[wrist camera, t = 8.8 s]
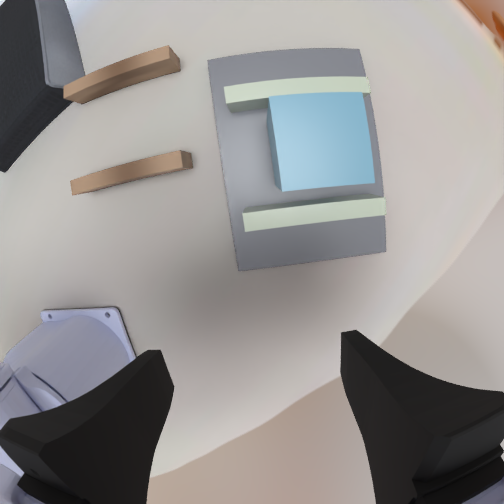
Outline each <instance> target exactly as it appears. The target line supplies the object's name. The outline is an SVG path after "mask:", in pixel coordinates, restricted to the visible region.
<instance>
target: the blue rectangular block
mask: <svg viewBox="0 0 504 504" xmlns="http://www.w3.org/2000/svg"><path fill="white" fill-rule="evenodd" d="M266 122H267V129H268V136H269V143H270V150H271V157H272V164H273V172H274V179H275V186H276V187H278V188H279V189H280V190H281V191H282V192H285V191H293V190H302V189H312V188H322V187H333V186H344V185H356V184H369V183H375V177H374V167H373V158H372V150H371V142H370V135H369V128H368V122H367V116H366V110H365V104H364V99H363V94H362V92H322V93H303V94H289V95H278V96H269V98H268V110H267V121H266Z"/></svg>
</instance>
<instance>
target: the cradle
mask: <svg viewBox="0 0 504 504" xmlns="http://www.w3.org/2000/svg"><path fill="white" fill-rule="evenodd" d="M178 71H180V61H179V58H178V57H177V55H176V54H175V53H174V52H173V50H172V49H171V48H170V47H169V45H168V46H164V47H161V48H157V49H154V50H151V51H148V52H145V53H142V54H139V55H136V56H133V57H130V58H127V59H124V60H122V61H119V62H116V63H114V64H111V65H109V66H106V67H104V68H102V69H99V70H97V71H95V72H92V73H90V74H88V75H86V76H84V77H81V78H79V79H77V80H75V81H73V82H71V83H69V84H67V85H65V86H64V99H67V100H70V101H74V102H77V103H81V104H84V103H86V102H88V101H91V100H93V99H96V98H98V97H101V96H103V95H106V94H108V93H111V92H114V91H116V90H119V89H122V88H125V87H128V86H130V85H133V84H136V83H140V82H143V81H146V80H149V79H153V78H156V77H159V76H163V75H167V74H170V73H174V72H178ZM190 168H193V164H192V158H191V153H188V152H185V151H181V150H180V151H175V152H171V153H166V154H162V155H158V156H154V157H149V158H145V159H141V160H138V161H134V162H130V163H126V164H123V165H119V166H116V167H112V168H109V169H105V170H102V171H99V172H96V173H92V174H89V175H86V176H83V177H80V178H77V179H74V180H71V181H70V183H71V190H72V195H77V194H83V193H88V192H93V191H97V190H100V189H104V188H108V187H111V186H115V185H119V184H123V183H127V182H131V181H135V180H139V179H143V178H148V177H152V176H157V175H161V174H166V173H170V172H175V171H180V170H185V169H190Z"/></svg>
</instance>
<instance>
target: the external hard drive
mask: <svg viewBox="0 0 504 504" xmlns="http://www.w3.org/2000/svg"><path fill="white" fill-rule="evenodd" d="M84 76H85V73H84V69H83V64H82V60H81V56H80V52H79V47H78V43H77V40H76V36H75V32H74V28H73V25H72V22H71V18H70V15H69V12H68V9H67V6H66V3H65V1H64V0H5V2H4V3H3V4H2V5H1V6H0V171H2V172H6V171H7V170H8V169H9V168H10V166H11V165H12V164H13V163H14V162H15V160H16V159H17V158H18V157H19V156H20V154H21V153H22V152H23V151H24V150H25V149H26V148H27V146H28V145H29V144H30V143H31V142H32V141H33V140H34V139H35V138H36V137H37V136H38V135H39V134H40V133H41V132H42V131H43V130H44V129H45V127H46V126H47V125H48V124H49V123H50V122H51V121H52V120H54V119H55V118H56V117H57V116H58V115H59V114H60V113H61V112H62V111H63V110H64V109H65V108H66V107H67V106H69V105H70V104H71V103H72V102H73V101H70V100H67V99H64V86H65V85H67V84H69V83H71V82H73V81H75V80H77V79H79V78H81V77H84Z"/></svg>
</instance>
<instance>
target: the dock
mask: <svg viewBox="0 0 504 504" xmlns="http://www.w3.org/2000/svg"><path fill="white" fill-rule="evenodd" d="M207 61H208V68H209V76H210V83H211V91H212V98H213V105H214V113H215V120H216V127H217V134H218V141H219V147H220V154H221V161H222V168H223V175H224V181H225V188H226V194H227V201H228V207H229V214H230V220H231V226H232V233H233V239H234V245H235V251H236V258H237V264H238V270H239V271H246V270H254V269H262V268H270V267H278V266H286V265H294V264H301V263H309V262H317V261H324V260H331V259H339V258H346V257H353V256H360V255H367V254H374V253H381V252H386V228H385V215H386V200H385V197H384V193H383V181H382V170H381V161H380V153H379V145H378V138H377V131H376V125H375V119H374V113H373V108H372V102H371V97H370V93H371V90H370V85H369V81H368V77H366V74H365V70H364V65H363V61H362V57H361V54H360V50H359V49H346V48H309V49H289V50H276V51H265V52H256V53H248V54H241V55H234V56H228V57H222V58H217V59H211V60H207ZM322 92H362V94H363V99H364V104H365V110H366V116H367V122H368V128H369V135H370V142H371V150H372V158H373V167H374V177H375V183H369V184H356V185H344V186H333V187H322V188H312V189H302V190H293V191H285V192H282V191H281V190H280V189H279V188H278V187H276V186H275V179H274V172H273V164H272V157H271V150H270V143H269V136H268V129H267V122H266V121H267V110H268V98H269V96H278V95H289V94H303V93H322Z"/></svg>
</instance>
